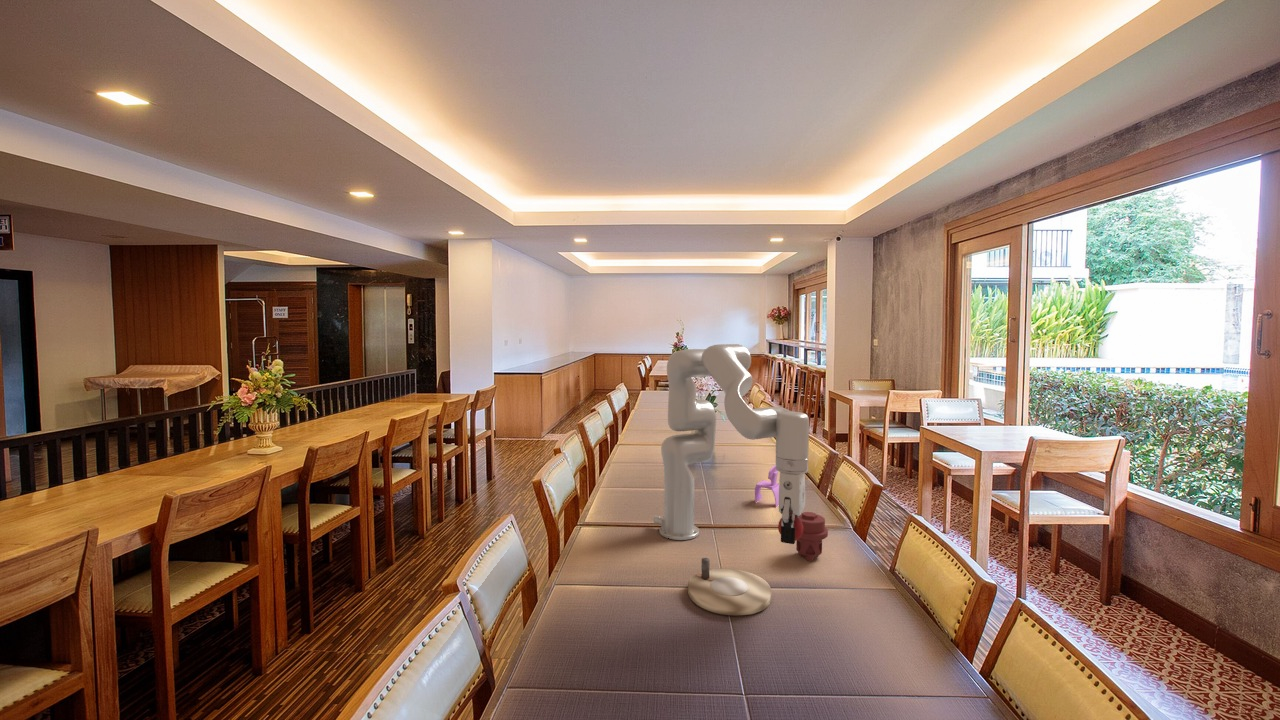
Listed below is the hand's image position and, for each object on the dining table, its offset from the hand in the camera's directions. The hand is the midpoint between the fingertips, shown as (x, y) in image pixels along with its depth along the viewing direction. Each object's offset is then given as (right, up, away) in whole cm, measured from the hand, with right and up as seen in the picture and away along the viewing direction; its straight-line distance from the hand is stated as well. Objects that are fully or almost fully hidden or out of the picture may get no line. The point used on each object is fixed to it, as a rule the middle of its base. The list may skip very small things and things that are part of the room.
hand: (790, 537), depth 128 cm
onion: (0, -2, 0) cm, 2 cm away
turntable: (-14, -15, +2) cm, 21 cm away
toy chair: (+12, -11, +71) cm, 73 cm away
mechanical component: (+12, -14, +25) cm, 31 cm away
